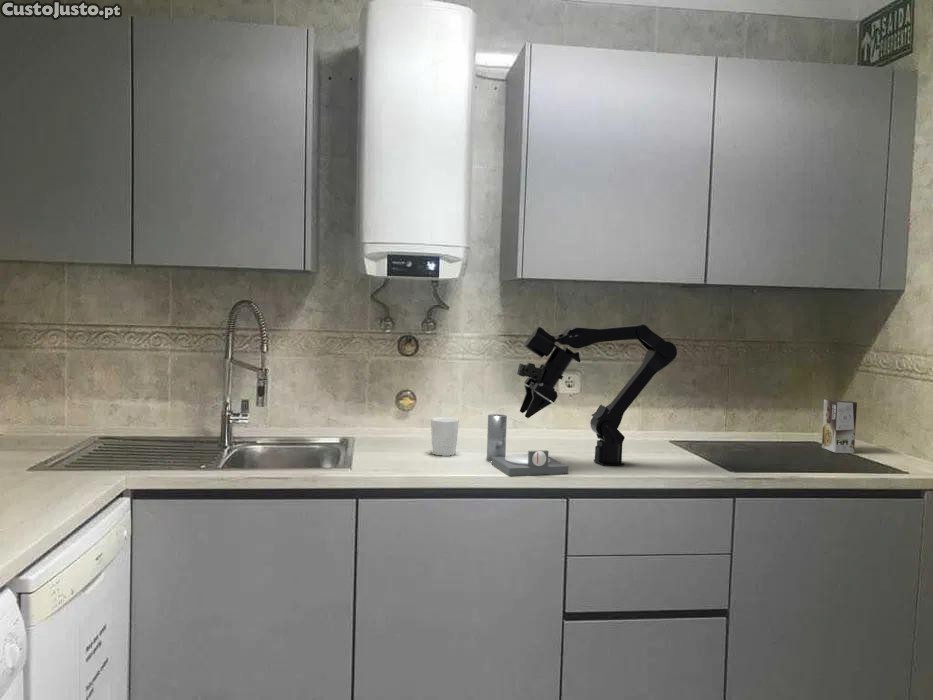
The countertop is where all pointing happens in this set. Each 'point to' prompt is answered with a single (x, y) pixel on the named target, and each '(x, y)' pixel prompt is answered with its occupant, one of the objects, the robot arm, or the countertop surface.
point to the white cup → (444, 435)
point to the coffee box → (839, 425)
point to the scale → (529, 464)
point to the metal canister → (496, 436)
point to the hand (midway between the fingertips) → (523, 414)
